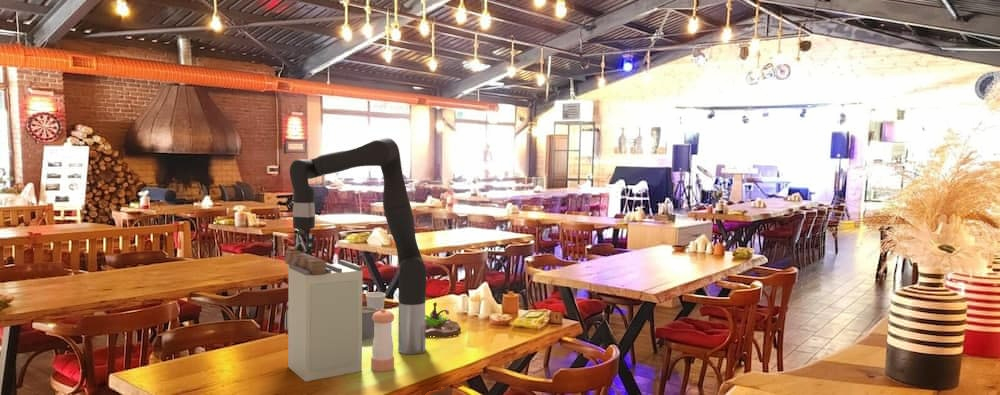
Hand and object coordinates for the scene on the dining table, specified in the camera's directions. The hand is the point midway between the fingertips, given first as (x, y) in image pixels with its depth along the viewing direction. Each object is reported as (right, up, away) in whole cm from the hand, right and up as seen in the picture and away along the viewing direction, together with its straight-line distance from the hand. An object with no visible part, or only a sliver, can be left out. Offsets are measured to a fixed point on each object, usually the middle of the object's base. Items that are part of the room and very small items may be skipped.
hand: (303, 260), depth 231 cm
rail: (+9, 0, -29) cm, 30 cm away
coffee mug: (+18, -30, +14) cm, 38 cm away
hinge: (-6, -29, +23) cm, 38 cm away
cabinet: (+15, -32, -27) cm, 44 cm away
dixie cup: (+18, -28, +40) cm, 52 cm away
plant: (+45, -31, +22) cm, 59 cm away
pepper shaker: (+33, -33, -25) cm, 52 cm away
